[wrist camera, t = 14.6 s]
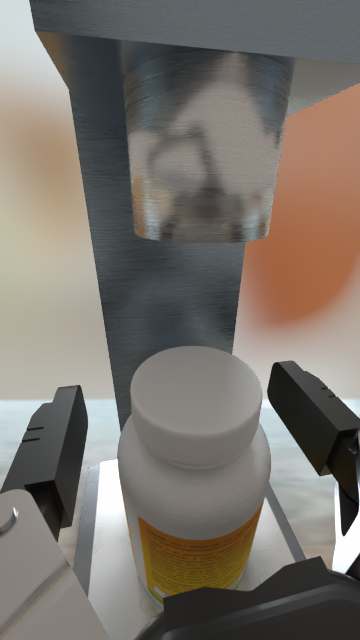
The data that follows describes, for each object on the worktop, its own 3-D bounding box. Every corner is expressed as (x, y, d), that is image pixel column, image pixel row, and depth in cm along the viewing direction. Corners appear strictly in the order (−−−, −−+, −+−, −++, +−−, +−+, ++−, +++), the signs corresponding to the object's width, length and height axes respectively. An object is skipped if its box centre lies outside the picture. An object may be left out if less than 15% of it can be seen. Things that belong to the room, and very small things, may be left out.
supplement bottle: (270, 546, 12) (326, 388, 7) (182, 669, 9) (186, 526, 4) (193, 461, 16) (200, 321, 11) (113, 526, 12) (76, 370, 8)
